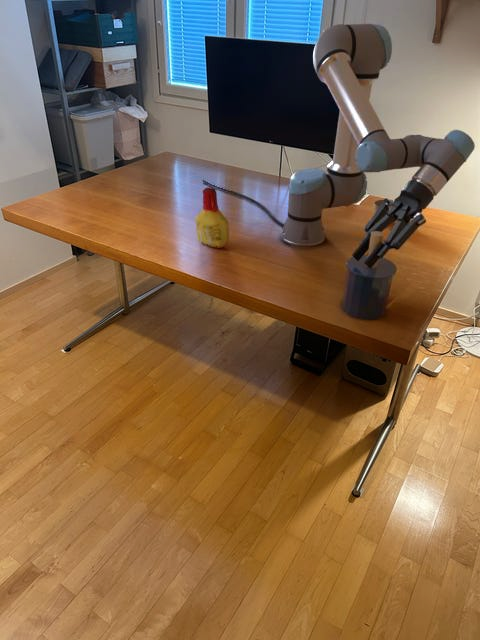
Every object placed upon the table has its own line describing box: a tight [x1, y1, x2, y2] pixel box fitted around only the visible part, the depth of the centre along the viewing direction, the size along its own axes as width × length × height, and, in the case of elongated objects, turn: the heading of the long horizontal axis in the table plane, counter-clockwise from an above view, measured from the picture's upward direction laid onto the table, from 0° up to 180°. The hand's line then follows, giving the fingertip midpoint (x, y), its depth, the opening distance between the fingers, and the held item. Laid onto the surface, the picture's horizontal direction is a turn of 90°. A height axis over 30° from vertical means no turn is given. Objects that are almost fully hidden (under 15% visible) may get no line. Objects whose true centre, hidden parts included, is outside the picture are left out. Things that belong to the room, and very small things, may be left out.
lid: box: [345, 231, 398, 280], centre depth 123 cm, size 13×13×10 cm
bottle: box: [195, 187, 230, 249], centre depth 159 cm, size 12×6×20 cm, turn 60°
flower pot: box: [373, 199, 393, 215], centre depth 181 cm, size 10×10×7 cm
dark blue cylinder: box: [341, 268, 394, 321], centre depth 129 cm, size 12×12×12 cm
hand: (361, 261), depth 122 cm, fingers open, 4 cm apart
